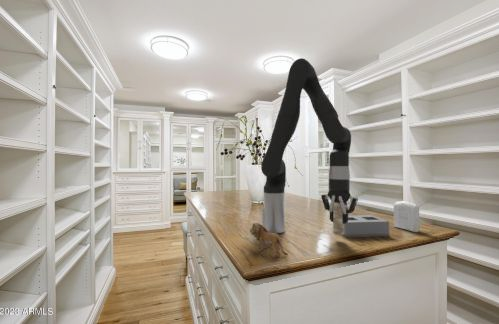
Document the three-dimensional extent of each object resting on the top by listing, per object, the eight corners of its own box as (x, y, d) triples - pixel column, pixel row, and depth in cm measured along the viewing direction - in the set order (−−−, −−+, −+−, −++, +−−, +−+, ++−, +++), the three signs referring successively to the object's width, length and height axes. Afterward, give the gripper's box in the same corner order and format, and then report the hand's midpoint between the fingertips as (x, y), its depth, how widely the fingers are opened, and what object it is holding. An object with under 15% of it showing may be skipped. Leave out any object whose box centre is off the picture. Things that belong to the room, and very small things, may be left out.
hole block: (346, 237, 95) (345, 222, 95) (333, 229, 107) (333, 216, 107) (389, 236, 96) (389, 221, 96) (372, 228, 108) (372, 215, 108)
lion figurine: (247, 249, 83) (247, 223, 83) (256, 245, 87) (256, 220, 87) (283, 259, 74) (283, 230, 74) (291, 254, 78) (291, 227, 78)
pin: (332, 233, 90) (332, 202, 90) (334, 231, 93) (334, 201, 93) (343, 235, 88) (343, 203, 88) (345, 233, 91) (345, 202, 91)
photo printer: (421, 231, 102) (420, 202, 102) (415, 232, 100) (414, 203, 100) (398, 225, 111) (397, 199, 111) (392, 227, 110) (391, 200, 110)
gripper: (317, 177, 92) (317, 221, 92) (354, 179, 83) (354, 228, 83) (325, 176, 98) (325, 217, 98) (361, 178, 88) (361, 224, 88)
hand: (338, 222), depth 90 cm, fingers closed on pin, 4 cm apart
